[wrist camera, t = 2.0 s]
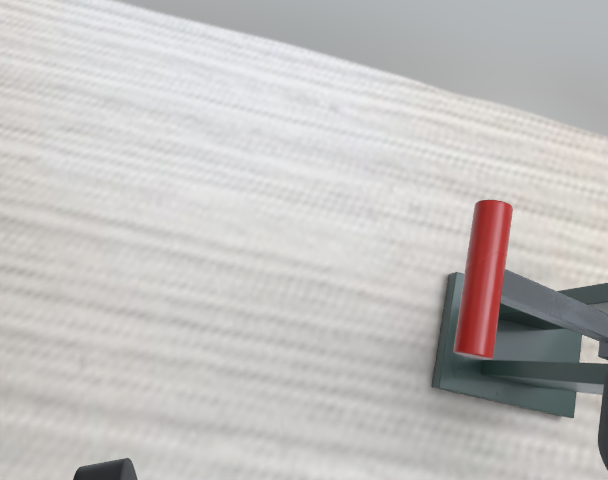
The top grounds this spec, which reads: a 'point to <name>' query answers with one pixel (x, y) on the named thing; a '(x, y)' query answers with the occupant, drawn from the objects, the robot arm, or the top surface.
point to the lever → (510, 290)
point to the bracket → (522, 357)
